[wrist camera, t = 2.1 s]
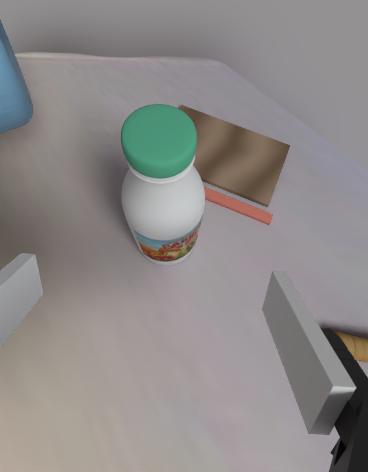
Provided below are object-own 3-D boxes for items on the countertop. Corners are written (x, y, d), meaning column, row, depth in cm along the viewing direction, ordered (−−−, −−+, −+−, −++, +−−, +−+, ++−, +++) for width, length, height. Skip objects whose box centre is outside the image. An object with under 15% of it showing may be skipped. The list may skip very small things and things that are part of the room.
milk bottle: (125, 248, 33) (63, 149, 14) (156, 202, 36) (138, 64, 17) (177, 277, 32) (183, 213, 13) (205, 228, 35) (245, 114, 16)
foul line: (137, 171, 37) (137, 170, 37) (142, 163, 37) (142, 161, 37) (268, 224, 35) (269, 223, 35) (272, 215, 36) (273, 214, 35)
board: (151, 160, 38) (151, 158, 37) (181, 108, 41) (181, 105, 40) (267, 207, 36) (268, 205, 35) (288, 147, 39) (289, 145, 39)
